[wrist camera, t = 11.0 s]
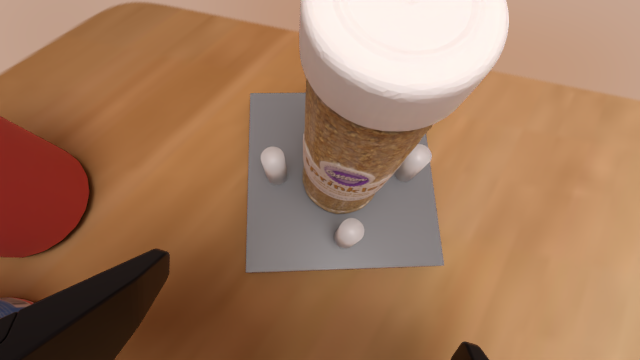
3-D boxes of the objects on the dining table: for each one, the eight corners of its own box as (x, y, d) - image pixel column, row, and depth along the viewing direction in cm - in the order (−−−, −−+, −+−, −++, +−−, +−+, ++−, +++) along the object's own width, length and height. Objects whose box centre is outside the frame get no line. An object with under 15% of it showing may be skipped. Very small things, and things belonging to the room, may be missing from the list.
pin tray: (248, 272, 19) (234, 271, 15) (252, 101, 22) (241, 64, 18) (437, 265, 20) (469, 262, 16) (415, 99, 23) (437, 63, 19)
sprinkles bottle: (302, 215, 19) (296, 89, 6) (302, 141, 20) (300, -93, 7) (381, 215, 19) (537, 95, 6) (377, 142, 20) (501, -84, 8)
